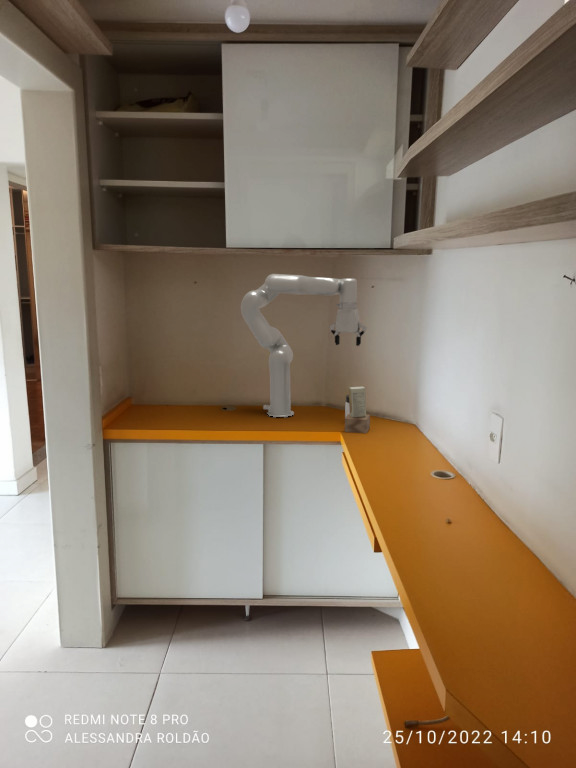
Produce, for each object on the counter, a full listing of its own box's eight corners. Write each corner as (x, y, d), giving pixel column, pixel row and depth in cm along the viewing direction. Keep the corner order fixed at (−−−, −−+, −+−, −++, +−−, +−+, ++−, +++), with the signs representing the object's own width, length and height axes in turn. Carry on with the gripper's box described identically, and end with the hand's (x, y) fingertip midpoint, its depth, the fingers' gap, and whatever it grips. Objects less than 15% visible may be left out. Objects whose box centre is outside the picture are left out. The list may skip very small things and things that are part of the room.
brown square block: (344, 432, 228) (344, 418, 227) (348, 426, 237) (348, 413, 235) (366, 433, 225) (366, 419, 224) (369, 428, 234) (369, 414, 233)
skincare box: (363, 414, 233) (363, 386, 231) (366, 416, 228) (366, 387, 226) (348, 415, 232) (348, 386, 230) (351, 417, 228) (351, 388, 226)
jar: (368, 423, 242) (369, 396, 240) (355, 426, 237) (356, 398, 235) (354, 419, 249) (354, 393, 247) (341, 422, 244) (341, 395, 242)
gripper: (326, 306, 244) (326, 345, 247) (364, 307, 237) (363, 346, 240) (332, 306, 251) (332, 343, 254) (369, 306, 243) (368, 345, 246)
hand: (347, 345), depth 247 cm, fingers open, 9 cm apart
